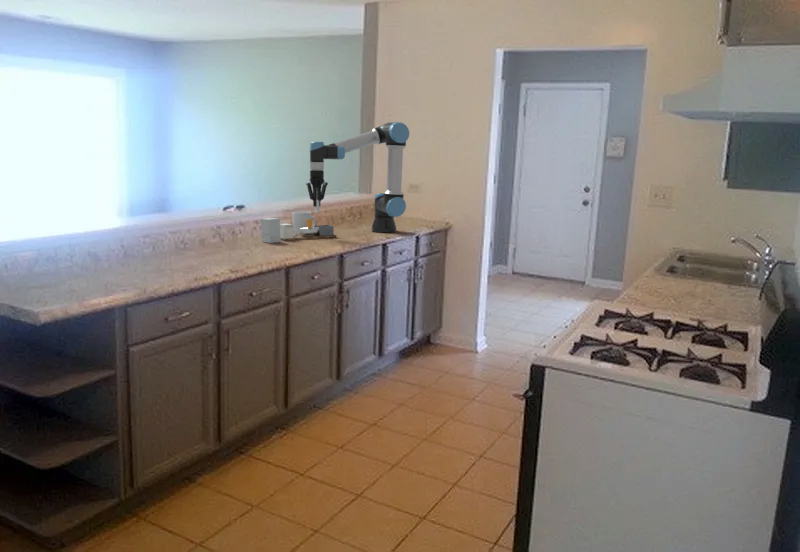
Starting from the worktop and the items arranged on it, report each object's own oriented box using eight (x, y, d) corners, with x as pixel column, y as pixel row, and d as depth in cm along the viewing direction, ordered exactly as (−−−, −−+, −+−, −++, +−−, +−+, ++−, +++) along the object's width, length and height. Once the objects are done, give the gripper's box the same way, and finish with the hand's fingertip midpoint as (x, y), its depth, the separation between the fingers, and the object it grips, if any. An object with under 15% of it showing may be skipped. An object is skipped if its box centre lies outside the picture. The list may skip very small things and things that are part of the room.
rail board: (328, 235, 391) (328, 233, 391) (336, 237, 384) (336, 235, 383) (277, 239, 373) (277, 237, 373) (284, 241, 366) (284, 239, 366)
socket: (287, 236, 375) (287, 223, 374) (293, 238, 369) (293, 224, 368) (278, 237, 372) (278, 223, 371) (284, 238, 366) (284, 225, 365)
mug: (311, 232, 402) (310, 210, 399) (321, 234, 393) (320, 212, 391) (289, 234, 392) (288, 212, 390) (298, 236, 384) (298, 213, 382)
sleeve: (327, 233, 389) (327, 224, 388) (333, 235, 384) (333, 226, 383) (314, 234, 384) (314, 225, 383) (319, 236, 379) (319, 227, 378)
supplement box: (281, 242, 363) (280, 218, 361) (269, 243, 358) (269, 219, 355) (272, 240, 368) (272, 217, 365) (261, 241, 363) (260, 218, 360)
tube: (326, 233, 387) (326, 217, 386) (330, 234, 384) (330, 218, 382) (298, 235, 377) (298, 219, 376) (301, 236, 374) (301, 220, 372)
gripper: (324, 169, 381) (323, 211, 386) (303, 169, 374) (303, 212, 378) (330, 170, 375) (330, 212, 380) (309, 170, 368) (309, 213, 372)
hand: (316, 212), depth 379 cm, fingers closed
